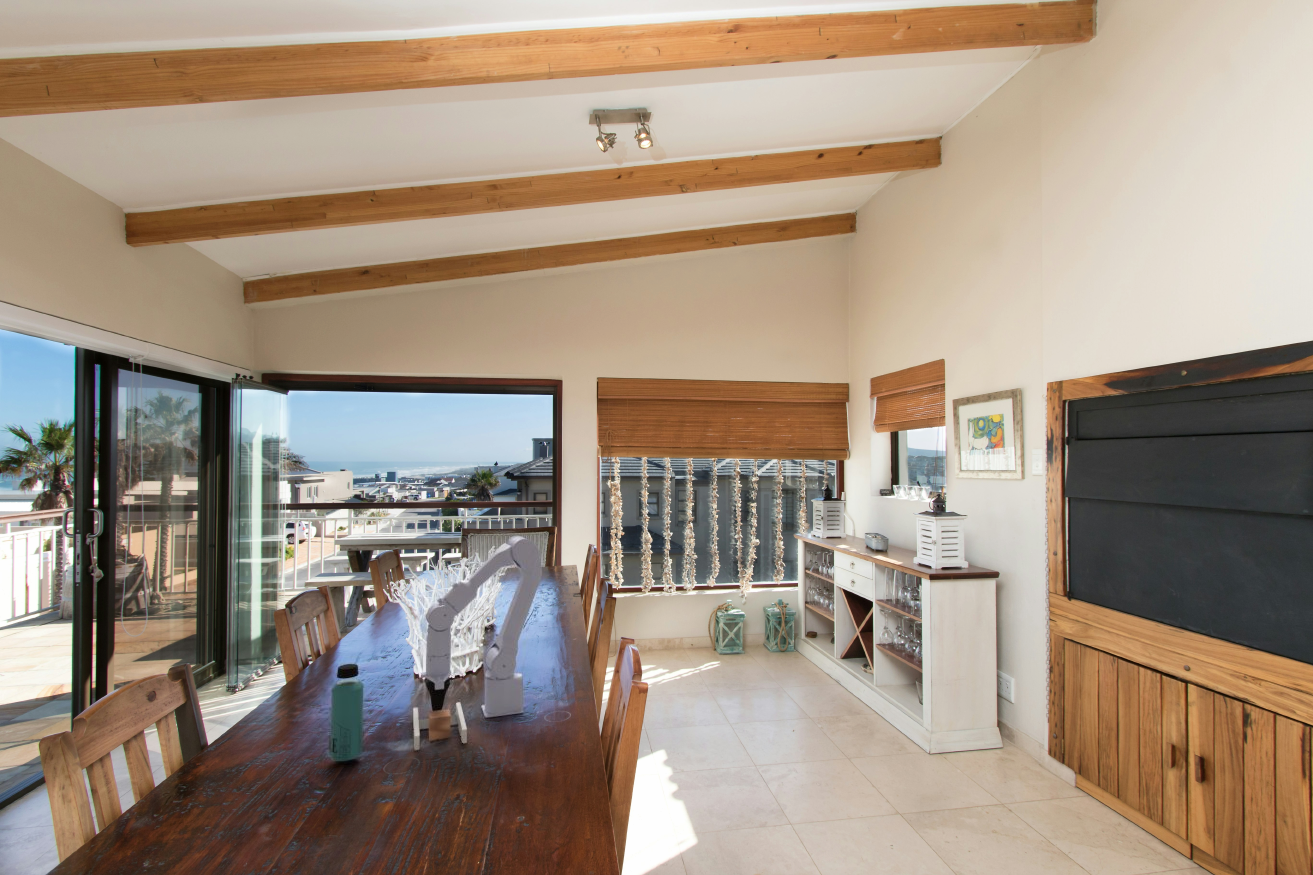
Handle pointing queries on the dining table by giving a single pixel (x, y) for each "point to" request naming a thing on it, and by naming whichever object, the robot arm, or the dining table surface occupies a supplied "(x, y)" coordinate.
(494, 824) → the dining table surface
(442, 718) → the block
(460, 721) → the channel
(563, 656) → the dining table surface
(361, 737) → the beverage bottle
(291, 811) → the dining table surface
